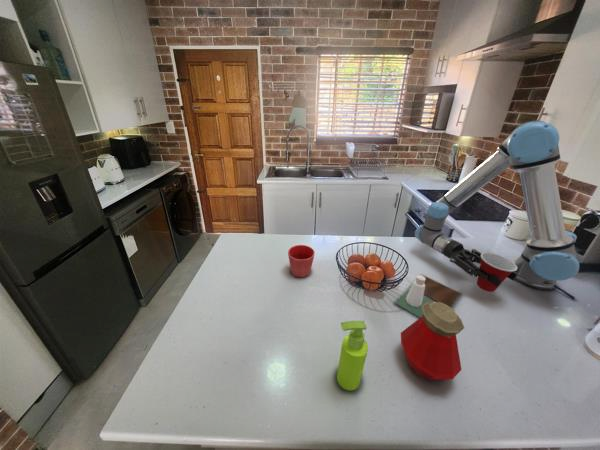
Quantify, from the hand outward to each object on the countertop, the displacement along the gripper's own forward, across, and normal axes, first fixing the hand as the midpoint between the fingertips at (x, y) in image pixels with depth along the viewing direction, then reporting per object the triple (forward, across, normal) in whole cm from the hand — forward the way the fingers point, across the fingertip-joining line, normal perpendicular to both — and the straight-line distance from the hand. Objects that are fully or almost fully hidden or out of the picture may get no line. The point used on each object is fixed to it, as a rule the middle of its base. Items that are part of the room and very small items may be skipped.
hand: (507, 280), depth 85 cm
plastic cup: (-5, 0, -7) cm, 8 cm away
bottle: (+7, +44, -11) cm, 46 cm away
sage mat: (-9, +27, -11) cm, 30 cm away
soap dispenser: (+2, +66, -11) cm, 67 cm away
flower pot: (-43, +59, -10) cm, 74 cm away
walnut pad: (-13, +15, -11) cm, 23 cm away
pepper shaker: (-12, +28, -10) cm, 32 cm away
